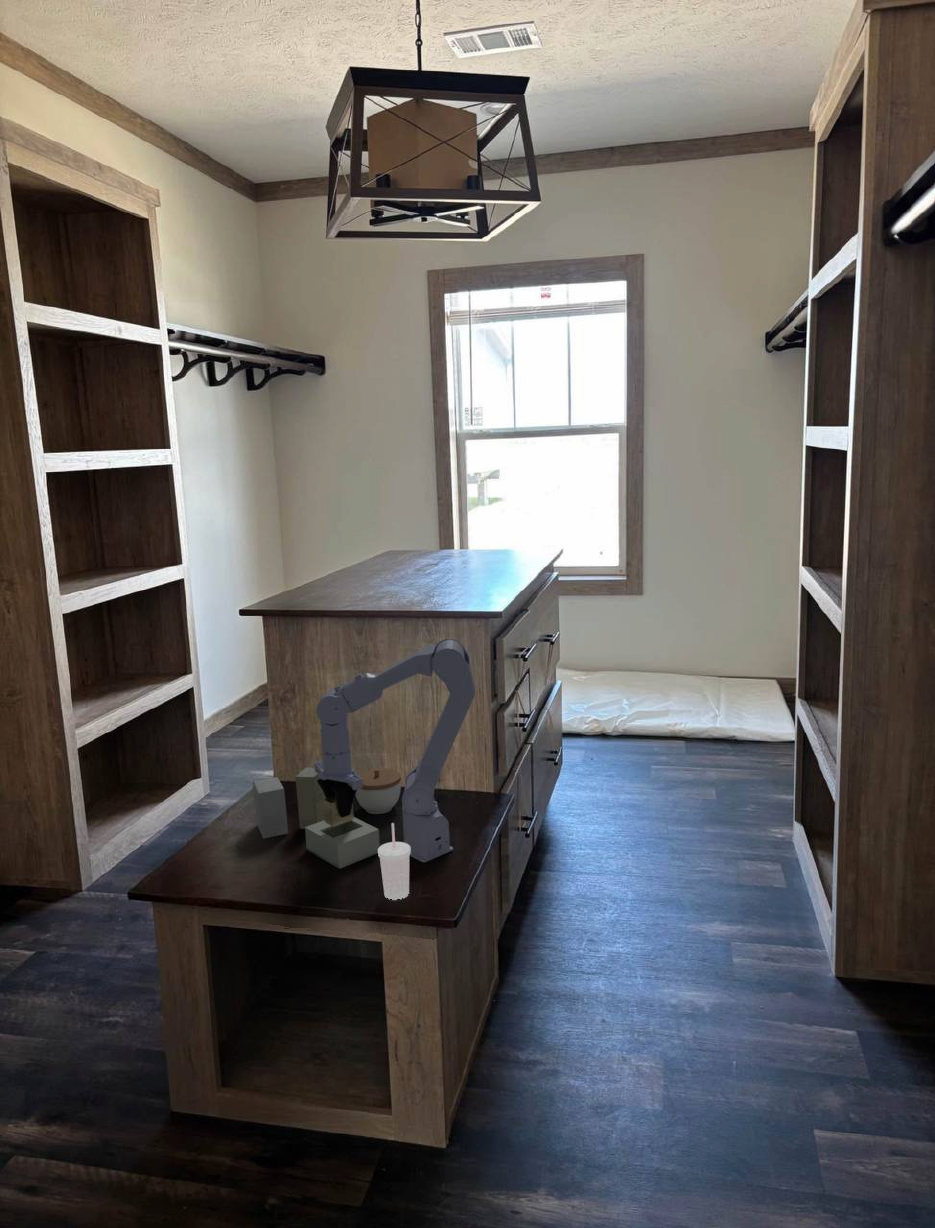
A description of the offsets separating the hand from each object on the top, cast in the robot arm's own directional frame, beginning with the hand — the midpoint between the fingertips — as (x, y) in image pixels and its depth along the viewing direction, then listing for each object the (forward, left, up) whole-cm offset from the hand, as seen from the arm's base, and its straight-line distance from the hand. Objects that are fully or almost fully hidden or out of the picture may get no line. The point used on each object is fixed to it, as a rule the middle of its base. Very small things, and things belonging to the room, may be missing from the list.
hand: (340, 813), depth 183 cm
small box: (+20, +5, -9) cm, 22 cm away
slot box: (0, 0, -8) cm, 8 cm away
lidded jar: (+12, -18, -9) cm, 23 cm away
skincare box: (+16, -3, -9) cm, 18 cm away
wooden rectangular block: (0, 0, -2) cm, 2 cm away
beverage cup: (-22, +3, -8) cm, 24 cm away
